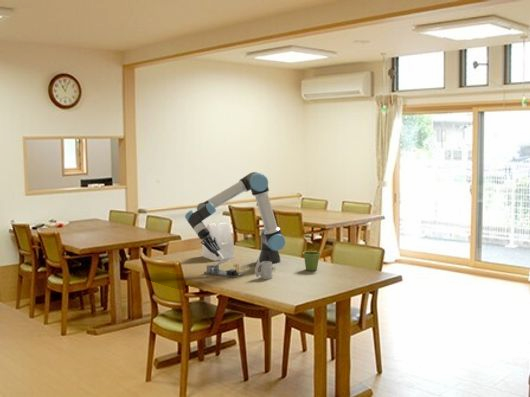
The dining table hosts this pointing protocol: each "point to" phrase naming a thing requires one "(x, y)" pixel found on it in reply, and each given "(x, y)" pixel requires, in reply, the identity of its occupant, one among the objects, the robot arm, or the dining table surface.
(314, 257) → the plant pot
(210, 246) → the robot arm
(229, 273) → the base
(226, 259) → the white flat bar
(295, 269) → the dining table surface
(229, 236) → the white box
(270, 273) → the mug
